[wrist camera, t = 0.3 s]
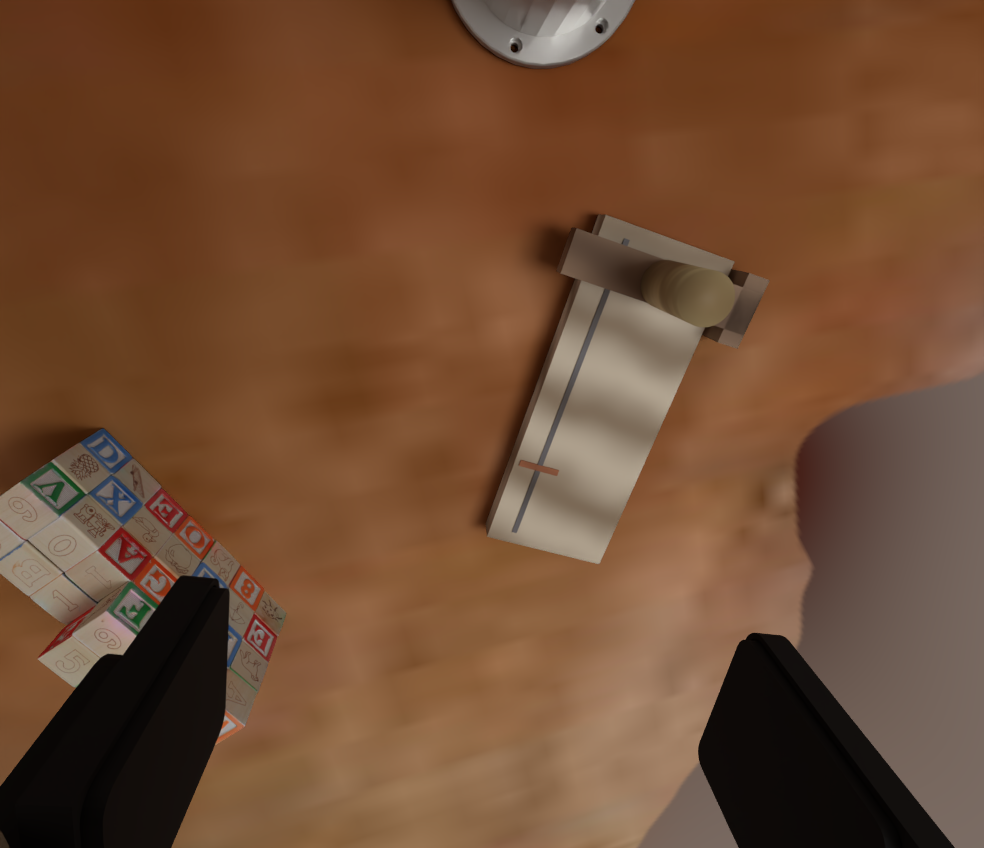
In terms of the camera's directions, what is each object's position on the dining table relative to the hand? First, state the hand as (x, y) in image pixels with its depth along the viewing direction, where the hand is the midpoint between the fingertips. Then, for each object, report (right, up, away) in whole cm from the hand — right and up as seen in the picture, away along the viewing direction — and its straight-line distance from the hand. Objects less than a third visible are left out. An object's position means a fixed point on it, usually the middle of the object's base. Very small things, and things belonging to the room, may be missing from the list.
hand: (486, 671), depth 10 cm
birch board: (+8, +6, +36) cm, 37 cm away
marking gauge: (+11, +15, +33) cm, 38 cm away
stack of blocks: (-26, -5, +38) cm, 46 cm away
